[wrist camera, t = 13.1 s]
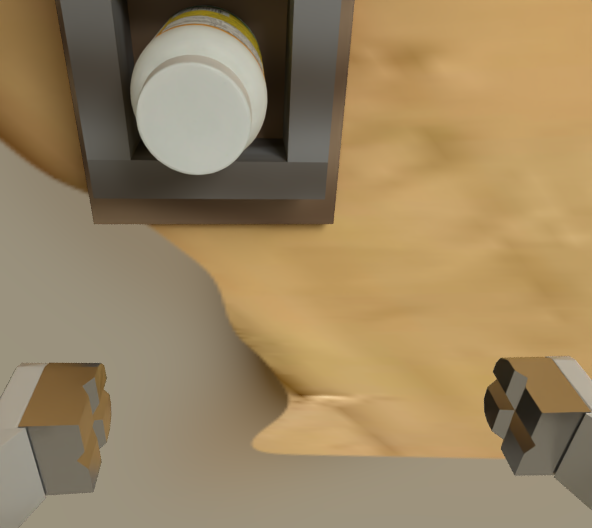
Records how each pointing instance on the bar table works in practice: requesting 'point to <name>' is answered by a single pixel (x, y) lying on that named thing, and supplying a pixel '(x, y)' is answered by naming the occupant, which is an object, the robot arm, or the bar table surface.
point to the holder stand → (253, 160)
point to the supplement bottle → (199, 90)
